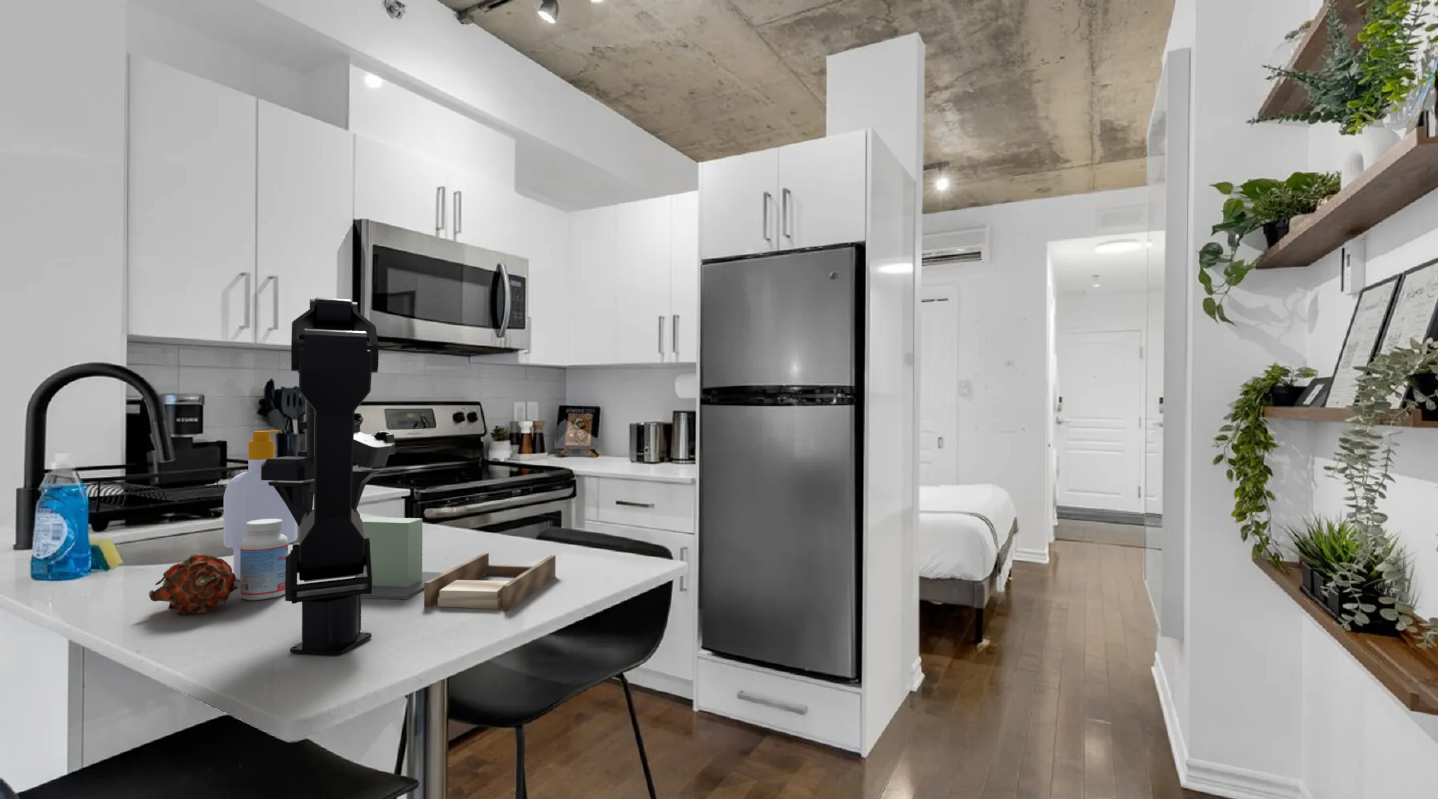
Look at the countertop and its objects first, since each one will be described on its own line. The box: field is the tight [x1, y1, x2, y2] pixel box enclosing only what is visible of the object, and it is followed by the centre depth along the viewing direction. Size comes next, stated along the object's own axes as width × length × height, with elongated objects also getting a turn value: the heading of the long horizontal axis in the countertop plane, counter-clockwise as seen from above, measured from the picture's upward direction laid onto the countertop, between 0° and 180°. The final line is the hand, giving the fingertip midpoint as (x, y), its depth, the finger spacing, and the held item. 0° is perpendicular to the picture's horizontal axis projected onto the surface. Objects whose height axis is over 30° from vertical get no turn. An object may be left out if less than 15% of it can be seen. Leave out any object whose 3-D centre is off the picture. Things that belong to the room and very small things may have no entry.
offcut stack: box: [437, 579, 510, 610], centre depth 103 cm, size 6×9×2 cm
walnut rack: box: [423, 552, 557, 612], centre depth 109 cm, size 19×13×4 cm, turn 173°
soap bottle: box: [223, 429, 298, 581], centre depth 116 cm, size 10×10×24 cm
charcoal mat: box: [360, 571, 444, 600], centre depth 111 cm, size 14×14×1 cm
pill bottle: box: [239, 519, 289, 601], centre depth 105 cm, size 6×6×11 cm
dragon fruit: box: [148, 554, 239, 615], centre depth 98 cm, size 8×8×12 cm
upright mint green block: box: [354, 516, 423, 587], centre depth 111 cm, size 4×9×10 cm, turn 83°
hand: (328, 524), depth 99 cm, fingers open, 9 cm apart
